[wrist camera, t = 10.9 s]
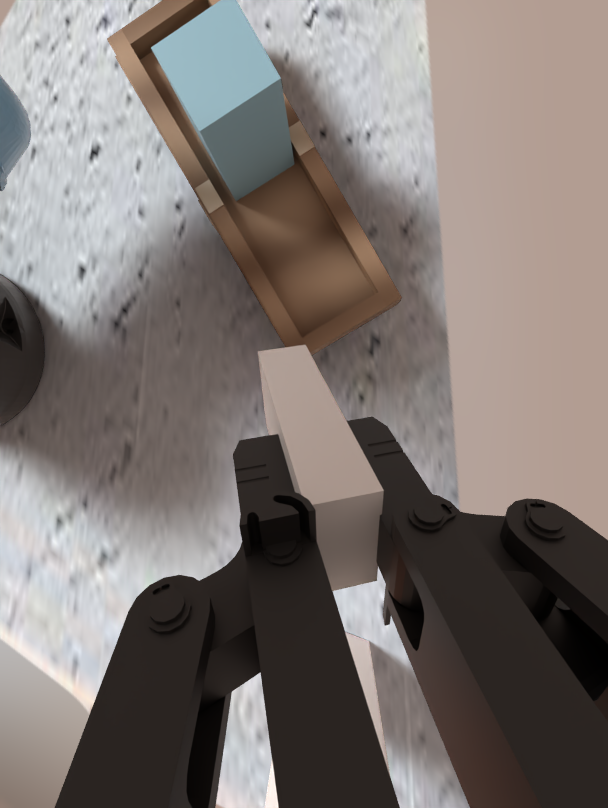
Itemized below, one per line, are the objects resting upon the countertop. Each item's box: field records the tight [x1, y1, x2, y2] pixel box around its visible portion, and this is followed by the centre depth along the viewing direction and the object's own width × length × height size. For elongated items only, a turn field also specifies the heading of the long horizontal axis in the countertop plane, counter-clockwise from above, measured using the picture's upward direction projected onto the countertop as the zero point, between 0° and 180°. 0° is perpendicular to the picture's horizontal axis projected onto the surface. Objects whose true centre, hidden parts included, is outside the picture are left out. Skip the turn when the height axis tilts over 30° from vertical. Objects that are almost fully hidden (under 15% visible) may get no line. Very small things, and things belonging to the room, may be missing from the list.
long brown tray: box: [107, 0, 402, 355], centre depth 33 cm, size 26×9×7 cm, turn 30°
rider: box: [151, 0, 294, 201], centre depth 27 cm, size 5×5×9 cm
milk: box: [265, 632, 390, 808], centre depth 28 cm, size 6×6×22 cm
